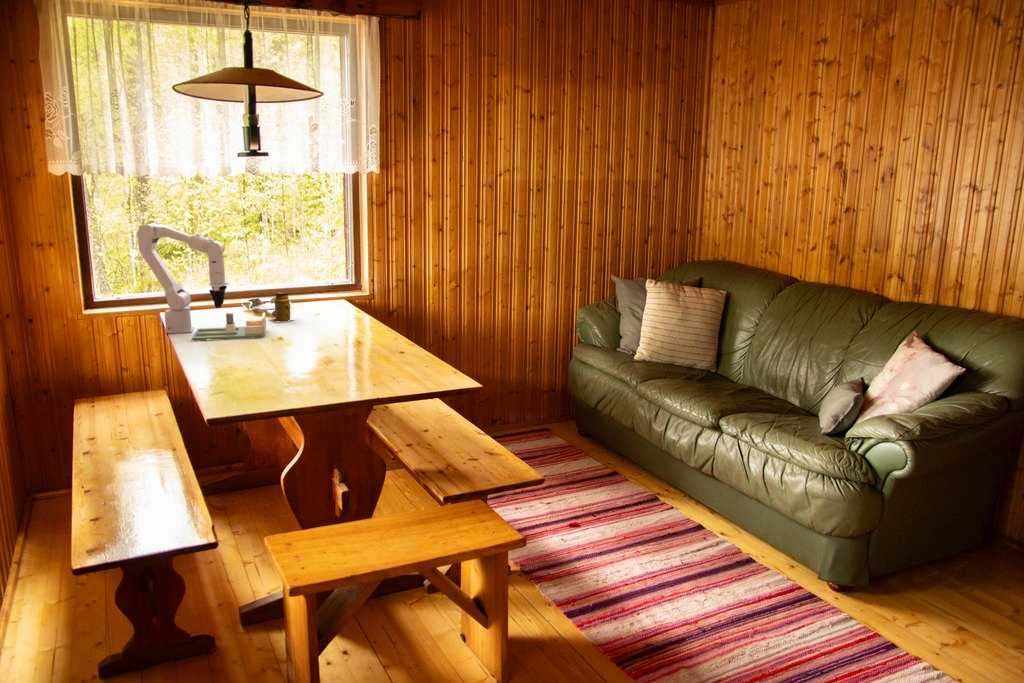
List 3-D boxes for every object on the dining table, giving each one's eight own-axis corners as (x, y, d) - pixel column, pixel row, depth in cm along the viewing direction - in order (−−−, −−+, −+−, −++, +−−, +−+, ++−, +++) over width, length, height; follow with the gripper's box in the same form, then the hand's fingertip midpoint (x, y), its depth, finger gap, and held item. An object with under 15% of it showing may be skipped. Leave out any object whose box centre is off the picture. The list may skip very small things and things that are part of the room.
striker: (226, 333, 318) (224, 315, 317) (227, 329, 324) (226, 312, 322) (234, 332, 319) (232, 315, 317) (235, 329, 325) (234, 312, 323)
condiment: (294, 320, 349) (292, 292, 347) (276, 323, 344) (274, 295, 341) (285, 317, 354) (284, 290, 352) (267, 320, 349) (266, 292, 346)
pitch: (192, 340, 310) (191, 336, 310) (197, 330, 327) (197, 326, 327) (263, 337, 316) (263, 333, 316) (265, 328, 333) (264, 323, 333)
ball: (259, 332, 322) (248, 331, 321) (259, 330, 326) (249, 329, 325) (259, 322, 322) (249, 321, 320) (260, 320, 325) (249, 319, 324)
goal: (245, 334, 317) (244, 319, 316) (246, 328, 329) (245, 313, 327) (265, 333, 319) (264, 318, 318) (266, 327, 330) (265, 312, 329)
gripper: (226, 274, 316) (228, 308, 319) (229, 269, 329) (231, 302, 333) (206, 274, 314) (209, 309, 317) (210, 269, 328) (213, 302, 331)
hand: (219, 305), depth 325 cm, fingers open, 7 cm apart
